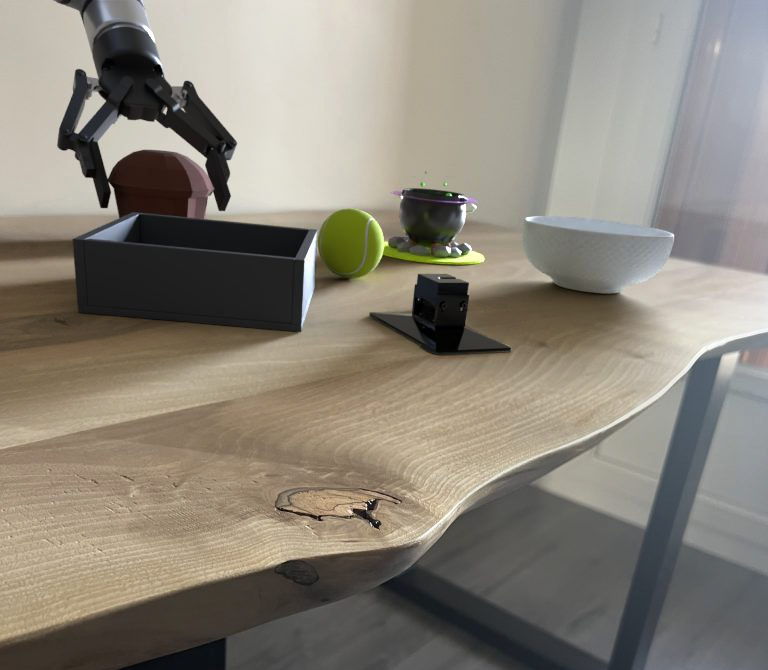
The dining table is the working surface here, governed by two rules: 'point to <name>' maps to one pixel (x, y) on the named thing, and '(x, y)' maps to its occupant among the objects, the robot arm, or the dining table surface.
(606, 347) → the dining table surface
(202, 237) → the bin
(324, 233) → the tennis ball
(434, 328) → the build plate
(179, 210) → the muffin
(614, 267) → the cereal bowl
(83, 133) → the robot arm
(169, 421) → the dining table surface
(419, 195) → the toy cauldron
